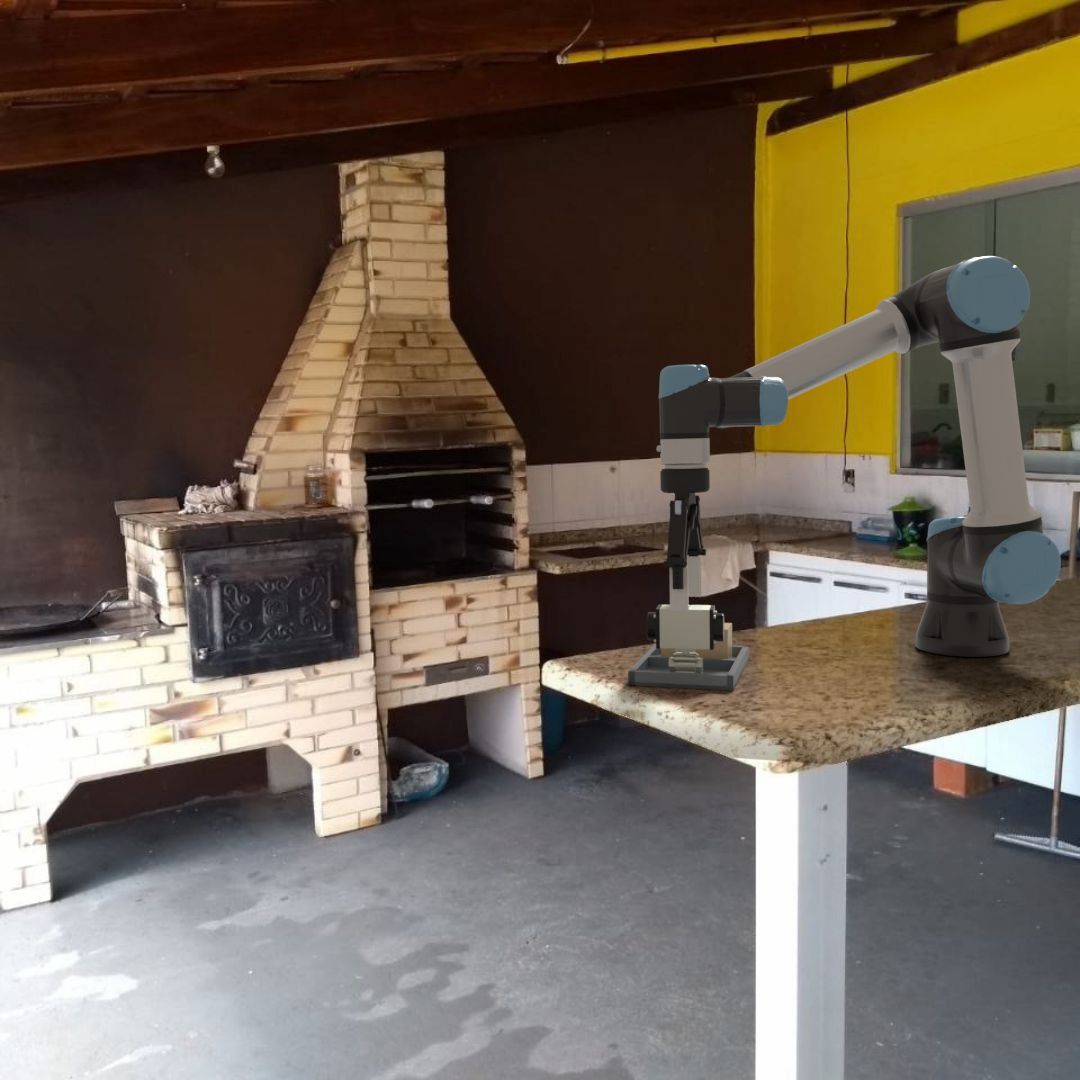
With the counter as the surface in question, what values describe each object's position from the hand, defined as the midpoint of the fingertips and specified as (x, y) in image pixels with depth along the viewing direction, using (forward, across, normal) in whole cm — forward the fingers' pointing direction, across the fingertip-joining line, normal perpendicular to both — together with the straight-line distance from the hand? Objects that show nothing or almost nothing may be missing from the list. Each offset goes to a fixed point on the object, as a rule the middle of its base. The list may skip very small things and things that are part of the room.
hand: (686, 603), depth 164 cm
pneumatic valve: (+12, 0, 0) cm, 12 cm away
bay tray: (+12, -5, 0) cm, 13 cm away
